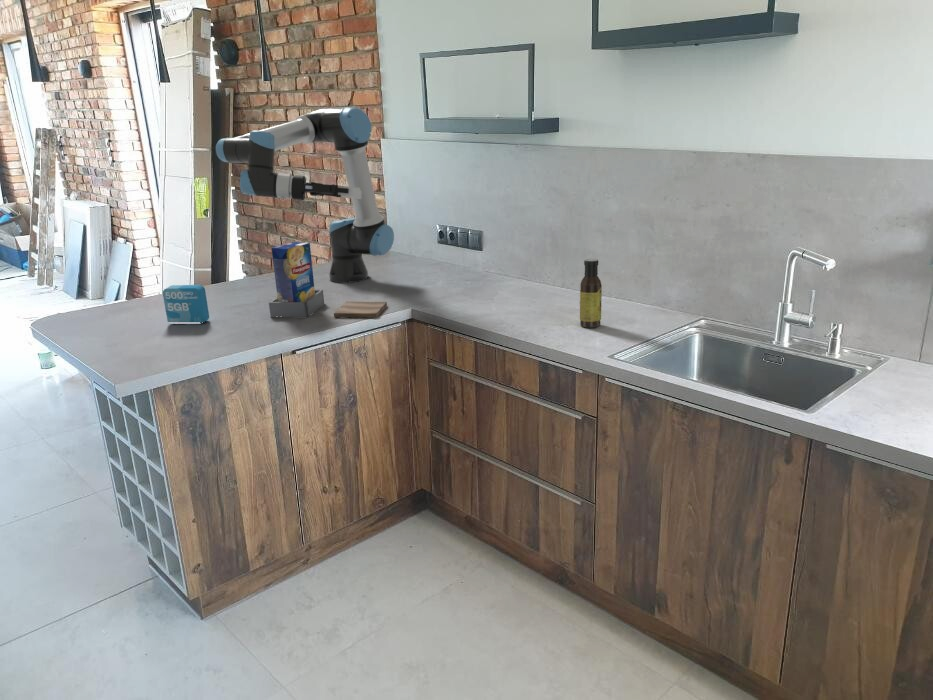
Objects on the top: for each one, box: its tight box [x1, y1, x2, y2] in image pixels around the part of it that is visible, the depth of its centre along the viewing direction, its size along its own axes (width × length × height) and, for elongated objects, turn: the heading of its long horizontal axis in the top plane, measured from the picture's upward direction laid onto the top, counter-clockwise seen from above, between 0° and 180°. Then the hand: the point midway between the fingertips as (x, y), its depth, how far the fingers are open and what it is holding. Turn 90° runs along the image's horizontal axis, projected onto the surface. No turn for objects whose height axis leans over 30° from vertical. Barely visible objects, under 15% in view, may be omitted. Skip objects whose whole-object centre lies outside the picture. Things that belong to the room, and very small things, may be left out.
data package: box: [162, 284, 210, 323], centre depth 226 cm, size 12×4×12 cm, turn 87°
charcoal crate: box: [268, 289, 325, 318], centre depth 237 cm, size 17×13×5 cm
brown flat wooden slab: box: [333, 301, 388, 319], centre depth 234 cm, size 14×14×2 cm
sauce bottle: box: [579, 258, 603, 329], centre depth 209 cm, size 6×6×20 cm
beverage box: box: [271, 241, 316, 302], centre depth 234 cm, size 7×11×22 cm, turn 154°
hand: (360, 193), depth 224 cm, fingers open, 13 cm apart
